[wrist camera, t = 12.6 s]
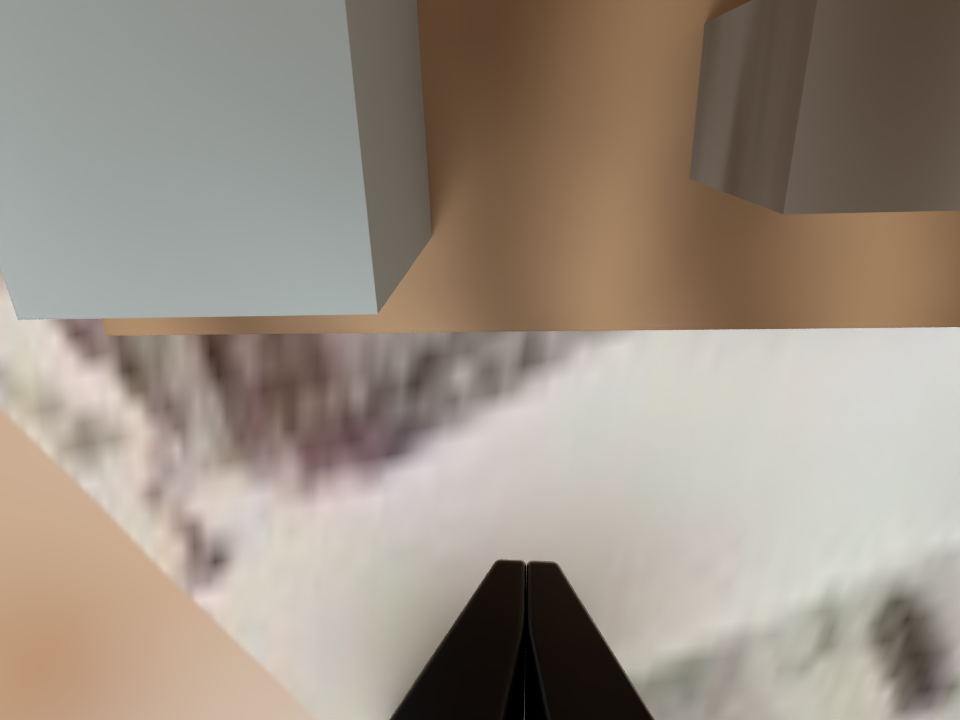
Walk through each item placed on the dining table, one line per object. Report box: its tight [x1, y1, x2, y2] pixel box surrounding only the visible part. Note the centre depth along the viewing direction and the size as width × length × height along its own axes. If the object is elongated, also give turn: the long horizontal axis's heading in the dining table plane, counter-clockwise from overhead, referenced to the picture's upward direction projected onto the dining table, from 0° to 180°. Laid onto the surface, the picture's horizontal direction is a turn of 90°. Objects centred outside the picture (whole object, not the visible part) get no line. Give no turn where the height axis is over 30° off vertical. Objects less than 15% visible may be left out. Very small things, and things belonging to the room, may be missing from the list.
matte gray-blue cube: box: [0, 0, 432, 320], centre depth 12 cm, size 6×6×7 cm
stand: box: [102, 0, 960, 335], centre depth 13 cm, size 26×12×8 cm, turn 92°
